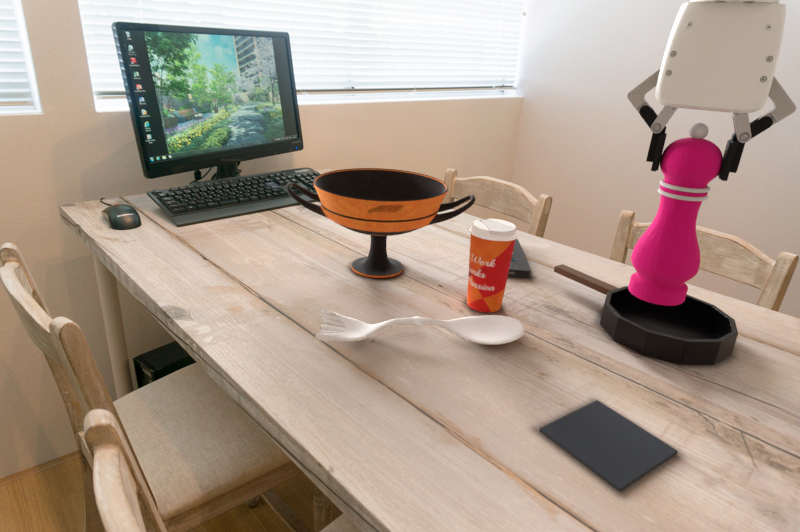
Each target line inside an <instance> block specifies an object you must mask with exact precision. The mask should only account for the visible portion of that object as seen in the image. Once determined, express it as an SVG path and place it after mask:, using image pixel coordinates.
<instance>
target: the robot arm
mask: <svg viewBox="0 0 800 532" xmlns="http://www.w3.org/2000/svg"><path fill="white" fill-rule="evenodd" d="M786 10H787V5H786V4H785V3H780V0H690V1H687V2H683V3H682V4H681V5H680V8H679V10H678V12H677V15H676V16H675V20H674V22H673V25H672V27H671V30H670V34H669V36H668V40H667V44H666V46H665V50H664V54H663V57H662V61H661V66H660V68H659V69H658V70H656V71H654V73H652V74H651V75H649V76H648V77H647V78H646V79H644V80H642V82H641V83H639V84H638V85H636V86H635V87H634V88H633V89H631V90H630V91H629V92H628V93H627V95H626V98H627V99H628V101H629V102H630V103H631V105H632V106H633V107H634V109H635V110H636V111H637V112H638V114H639V115H640V118H642V120H643V121H644V122H645V124H646V125H647V126H648V128H649V129H650V131H651V133H652V135H651V139H650V143H649V147H648V151H647V156H646V160H645V162H649V163H652V164H651V168H650V172H658V171H659V168H660V160H661V156H662V154H663V152H664V149H665V145H666V144H665V143H666V140H667V136H668V133H666V131H667V124H668V123H669V121H670V120H671V119H672V117H673V116H674V114H675V113H676V111H677V110H678V109H686V110H687V109H688V110H695V111H696V110H697V111H709V112H719V113H729V114H730V113H731V118H732V124H733V130H734V131H733V133H732V134H731V137H730V138H729V139H727V142H726V145H725V149H724V151H723V154H722V156H723V164H722V168H721V171H720V173H719V174H718V176H717V177H718V179H719V180H720V181H722V182H723V181H724V182H727V181H728V179H729V175H730V173H734V174H736V173H737V172H738V169H739V166H740V162H741V159H742V155H743V152H744V148H745V146H746V143H748V142H750V141H751V140H752V139H754V138H755V137H757V136H759V135H760V134H761V133H763V132H765V131H767V130H768V129H769V128H771V127H772V126H774V125H775V124H778V123H780V121H782V120H784V119H785V118H787V117H789V116H791V115H792V114H794V113H795V112H796V110H797V105H796V104H795V103H794V101H793V100H792V98H791V97H790V96H789V94H788V93H787V91H785V89H784V87H783V86H782V85H781V83H780V82H779V81H778V79H777V78H776V77H775V72H776V70H777V69H776V68H777V65H778V60H779V56H780V51H781V47H782V41H783V35H784V28H785V21H786ZM653 89H655V93H654V94H655V95H654V98H655V100H656V102H657V103H659V104H660V105H662V106H663V107H662V109H661V110H660V112H659V113H658V114H657V112H656V111H655V110H654V109H653V107H652V106H651V105H650V104H649V102H648V100H647V99H646V95H647V94H648V93H649V92H650V91H652V90H653ZM768 98H769V99H770V100H771V102H772V103H773V107H772V109H771V110H769V111H768V112H766V113H764V114H763V115H761V116H759V117H757V118H756V119H755V120H754V119H753V120H752V121H750V117H749V114H751V113H756V112H758V111H760V110H762V109H763V108H764V106H765V105H766V103H767V100H768Z"/></svg>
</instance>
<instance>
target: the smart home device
mask: <svg viewBox="0 0 800 532" xmlns="http://www.w3.org/2000/svg"><path fill="white" fill-rule="evenodd" d="M508 277H512V278H525V279H529V278H530V277H531V267H530V264H529V262H528V259H527V258H526V255H525V252H524V250H523V248H522V244H521V243H520V241H519V239H518V238H516V239H515V244H514V249H513V254H512V258H511V263H510V268H509V273H508Z"/></svg>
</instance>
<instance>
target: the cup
mask: <svg viewBox="0 0 800 532" xmlns="http://www.w3.org/2000/svg"><path fill="white" fill-rule="evenodd" d="M312 181H313V186H314V187H313V188H314V189H315V192H313V191H310V190H308V189H306V188H305V187H303V186H301V185H300V184H298V183H296V182H292V181H289V182H288V183H287V184H286V191H287V193H288V194H289V196H290V197H292V199H293V200H295V201H296V202H297V203H298V204H300V205H301V206H302V207H304V208H305V209H307V210H309V211H311V212H313V213H315V214H317V215H320V216H322V217H324V218H326V219H328V220H330V221H332V222H333V223H336V224H337V225H339V226H341V227H343V228H344V229H347V230H349V231H352V232H354V233H358V234H362V235H367V236H370V246H369V251H368V255H367V256H363V257H360V258H356V259H355V260H353V261H352V262H351V269H352V271H353V272H354V273H356V274H358V275H360V276H363V277H366V278H375V279H377V278H378V279H386V278H392V277H395V276H398V275H401V273H402V272H403V270H404V265H403V264H402V262H400V261H399V260H397V259H394V258H391V257H388V251H387V250H388V249H387V241H388V240H387V239H388V237H390V236H391V237H392V236H400V235H405V234H408V233H412V232H414V231H417V230H419V229H422V228H425V227H427V226H430V225H435V224H438V223H442V222H446V221H448V220H452V219H453V218H455V217H458V216H460V215H461V214H463V213H465V212H466V211H467V210H469V209H470V208H471V207H472V206H473V205H474V204H475V202H476V196H475V195H474V194H470V195H467V196H465V197H462V198H460V199H457V200H455V201H451V202H444V203H443V201H444V199H445V197H446V196H447V195H448V192H449V186H448V185H447V183H446V182H445V181H443V180H441V179H439V178H436V177H434V176H431V175H429V174H425V173H420V172H415V171H409V170H403V169H395V168H394V169H393V168H379V167H378V168H377V167H357V168H356V167H355V168H343V169H336V170H330V171H326V172H323V173H321V174H318V175H316V176H315V177H314V179H313V180H312ZM291 187H293V188H294V189H296V190H298V191H299V192H301V193H302V194H303V195H304V196H306V197H308V198H310V200H311V199H312V200H313V201H315V202H317V203H319V204H320V205H318V204H316V203H313V202H310V201H308V200H306V199H304V198H302V197H301V196H300V195H298V194H297V193H296V192H294V191H293V190H292V188H291ZM466 202H467V203H466ZM465 203H466V204H465ZM463 204H465V205H463ZM460 205H463V206H461V207H459V206H460ZM457 207H459V208H457ZM455 208H457V209H455ZM452 209H454V210H452ZM449 210H452V211H449ZM445 211H447V212H445Z"/></svg>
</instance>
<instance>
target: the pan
mask: <svg viewBox="0 0 800 532" xmlns="http://www.w3.org/2000/svg"><path fill="white" fill-rule="evenodd" d="M553 272H554V273H556V274H557V275H558V274H559V275H561V276H563V277H565V278H567V279H570V280H572V281H574V282H576V283H578V284H581V285H583V286H585V287H587V288H590V289H592V290H594V291H596V292H598V293H601V294H603V295H605V298H604V302H603V306H602V311H601V316H600V320H599V326H600V327H602V329H603V330H604V331H605V332H606V333H607V335H609V337H610V338H611V339H612V340H613V341H615V342H616V343H619V344H621V345H622V346H624V347H627V348H628V349H630V350H633V351H634V352H636V353H637V354H640V355H642V356H645V357H649V358H653V359H656V360H661V361H665V362H669V363H673V364H677V365H682V366H715V365H717V364H718V363H720V362H722V361H724V360H725V359H728V358H729V357H731V356H732V353H733V349H734V347H735V344H736V342H737V338H738V335H739V331H738V328H737V323H736V320H735V319H734V318H733V317H732V316H730V315H729V314H727V313H726V312H725V311H723V310H722V309H720V308H719V307H718V306H716V305H714V304H713V303H710V302H707V301H705V300H703V299H701V298H700V299H699V298H698V297H695V296H692V295H689V294H688V293H687V294H686V298H685V301H684V302H683V303H682V304H680V305H675V306H665V305H658V304H653V303H650V302H646V301H644V300H641V299H639V298H637V297H635V296H634V295H632V294H631V293H630V291H629V290H628V286H629V285H624V286H621V287H617V286H615V285H612V284H611V283H608V282H605V281H603V280H601V279H599V278H596V277H594V276H591V275H590V274H587V273H585V272H583V271H579V270H578V269H575V268H573V267H570V266H568V265H566V264H563V263H561V264H558V265H554V268H553Z"/></svg>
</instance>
